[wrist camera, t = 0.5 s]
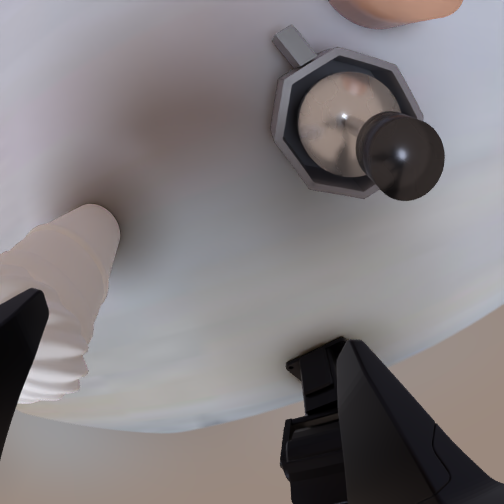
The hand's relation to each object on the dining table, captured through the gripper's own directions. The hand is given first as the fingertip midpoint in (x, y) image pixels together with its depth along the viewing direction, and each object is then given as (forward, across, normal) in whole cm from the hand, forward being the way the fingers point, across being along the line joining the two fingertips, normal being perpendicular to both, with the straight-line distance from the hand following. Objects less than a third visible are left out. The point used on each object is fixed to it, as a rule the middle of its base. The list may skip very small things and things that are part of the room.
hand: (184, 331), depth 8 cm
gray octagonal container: (+13, -5, -6) cm, 15 cm away
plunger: (+10, -6, -5) cm, 13 cm away
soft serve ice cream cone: (+13, +9, +5) cm, 17 cm away
